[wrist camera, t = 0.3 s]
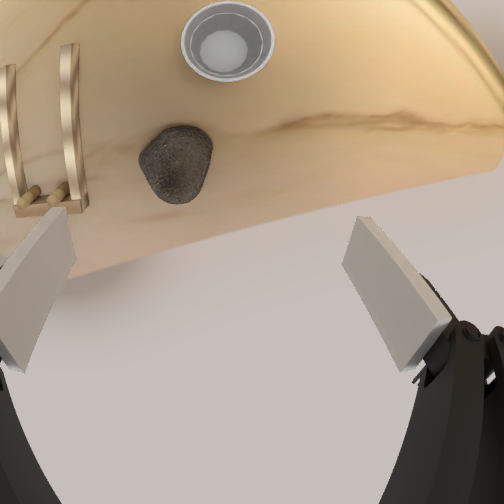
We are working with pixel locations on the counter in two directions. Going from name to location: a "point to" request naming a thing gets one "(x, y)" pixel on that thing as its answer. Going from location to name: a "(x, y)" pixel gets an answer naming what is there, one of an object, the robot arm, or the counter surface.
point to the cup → (227, 41)
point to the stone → (177, 163)
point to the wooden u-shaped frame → (4, 110)
